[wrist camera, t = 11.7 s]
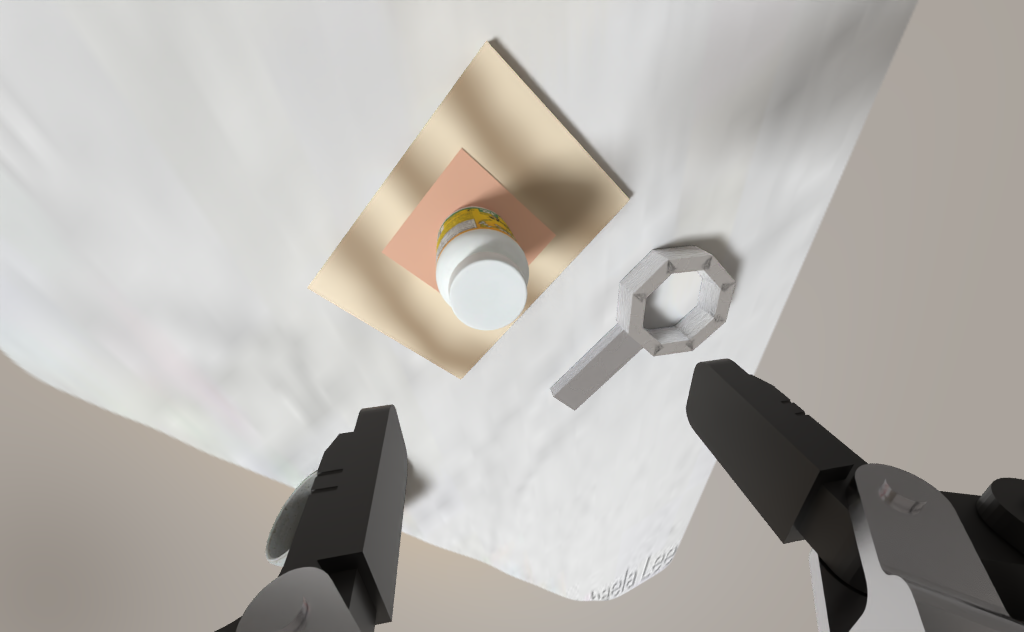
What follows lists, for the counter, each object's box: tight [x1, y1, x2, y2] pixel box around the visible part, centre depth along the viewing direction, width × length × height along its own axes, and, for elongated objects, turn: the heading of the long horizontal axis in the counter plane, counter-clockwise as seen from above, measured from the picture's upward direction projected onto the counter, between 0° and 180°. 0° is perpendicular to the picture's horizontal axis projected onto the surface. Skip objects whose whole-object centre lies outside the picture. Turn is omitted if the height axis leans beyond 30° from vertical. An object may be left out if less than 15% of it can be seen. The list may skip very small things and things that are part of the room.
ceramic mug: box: [265, 471, 317, 567], centre depth 34 cm, size 11×8×8 cm
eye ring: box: [550, 245, 735, 410], centre depth 33 cm, size 18×9×2 cm, turn 138°
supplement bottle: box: [436, 206, 529, 330], centre depth 23 cm, size 5×5×10 cm
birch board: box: [308, 41, 630, 379], centre depth 28 cm, size 20×14×1 cm
